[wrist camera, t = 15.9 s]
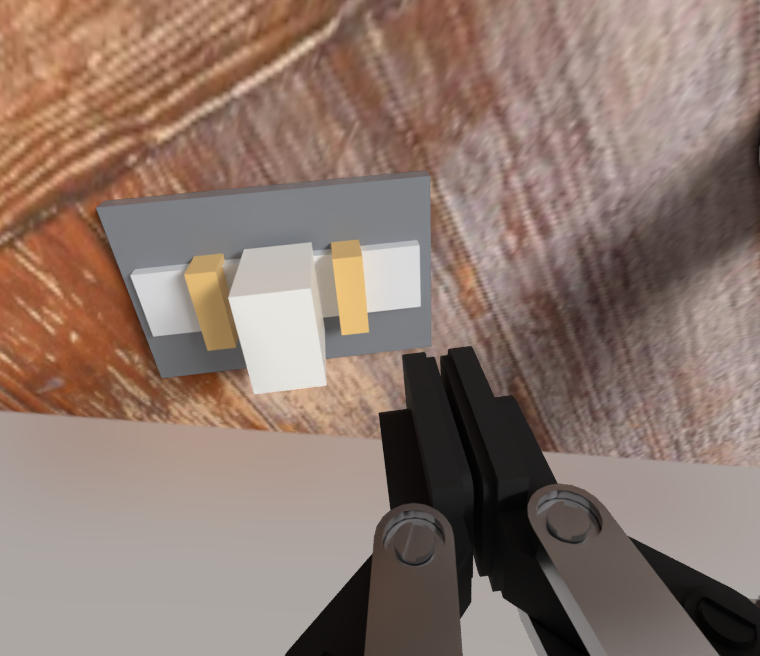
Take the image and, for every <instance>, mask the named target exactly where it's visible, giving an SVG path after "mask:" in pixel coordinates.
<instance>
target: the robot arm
mask: <svg viewBox="0 0 760 656" xmlns="http://www.w3.org/2000/svg"><path fill="white" fill-rule="evenodd" d="M759 165H760V147H759ZM402 360H403V372H404V383H405V395H406V406H407V409H403V410H396V411H388V412H380V413H379V420H380V428H381V436H382V444H383V452H384V461H385V469H386V477H387V485H388V493H389V502H390V511H389V512H388V513H387V514H386V515H384V516H383V517H382V519H381V521H380V522H379V524H378V525H377V527H376V531H375V535H374V543H373V554H372V555H371V556H370V557H369V558H368V559H367V560H366V562H365V563H364V564H363V565H362V566H361V567H360V569H359V570H358V571H357V572H356V573H355V574H354V575H353V577H352V578H351V579H350V580H349V581H348V582H347V583H346V585H345V586H344V587H343V588H342V590H341V591H339V593H338V594H337V595H336V596H335V597H334V598H333V600H332V601H331V602H330V603H329V604H328V605H327V606H326V608H325V609H324V610H323V611H322V612H321V613H320V615H319V616H318V617H317V618H316V619H315V620H314V621H313V623H312V624H311V625H310V626H309V627H308V628H307V629H306V631H305V632H304V633H303V634H302V635H301V636H300V638H299V639H298V640H297V641H296V642H295V644H293V646H292V647H291V648H290V649H289V650H288V651H287V653H286V654H285V656H463V653H462V639H461V625H460V619H461V617H462V616H463V614H464V612H465V611H466V609H467V608H468V606H469V605H470V603H471V578H472V577H473V555H474V559H475V563H476V567H477V570H478V573H479V576H480V577H482V576H488V577H489V580H490V583H491V587H492V591H493V592H494V591H501V593H502V596H503V598H504V599H506V600H507V601H509V602H510V603H512V604H513V605H515V606H516V607H518V612H519V615H520V618H521V621H522V623H523V625H524V627H525V629H526V631H527V634H528V636H529V638H530V640H531V642H532V644H533V646H534V648H535V650H536V653H537V655H538V656H760V596H759V597H758V599H748V598H747V597H745V596H743V595H742V594H740V593H738V592H737V591H735V590H734V589H732V588H730V587H728V586H726V585H724V584H722V583H720V582H718V581H716V580H714V579H712V578H710V577H708V576H706V575H704V574H702V573H700V572H698V571H696V570H694V569H693V568H690V567H689V566H687V565H685V564H683V563H681V562H679V561H676V560H675V559H673V558H670V557H669V556H667V555H665V554H663V553H661V552H659V551H657V550H655V549H653V548H651V547H649V546H647V545H645V544H643V543H641V542H639V541H637V540H635V539H633V538H631V537H629V536H627V535H626V533H625V532H624V531H623V529H622V528H621V527H620V525H619V524H618V523H617V521H616V520H615V519H614V518H613V516H612V515H611V514H610V512H609V511H608V510H607V508H606V507H605V506H604V505H603V504H602V503H601V502H600V501H599V500H598V499H597V498H596V497H595V496H594V495H592V494H590V493H589V492H587V491H586V490H584V489H581V488H578V487H576V486H573V485H565V484H558V483H557V481H556V479H555V477H554V475H553V473H552V471H551V469H550V468H549V465H548V463H547V461H546V459H545V457H544V456H543V453H542V451H541V449H540V447H539V445H538V443H537V441H536V439H535V437H534V435H533V433H532V431H531V429H530V427H529V425H528V423H527V421H526V419H525V417H524V415H523V413H522V411H521V409H520V407H519V405H518V403H517V401H516V400H515V398H514V397H513V396H512V395H510V396H503V397H494V395H493V393H492V390H491V388H490V386H489V383H488V381H487V379H486V377H485V374H484V372H483V370H482V368H481V365H480V363H479V361H478V359H477V356H476V354H475V352H474V350H473V348H472V347H471V346H467V347H459V348H452V349H448V355H444V356H441V357H440V366H441V376H440V373H439V370H438V366H437V363H436V360H435V357H428V358H427V357H426V354H425V352H420V353H413V354H405V355H402Z"/></svg>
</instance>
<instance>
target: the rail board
mask: <svg viewBox="0 0 760 656" xmlns="http://www.w3.org/2000/svg"><path fill="white" fill-rule="evenodd" d="M96 209H97V212H98V214H99V217H100V220H101V222H102V225H103V227H104V230H105V233H106V235H107V238H108V240H109V243H110V246H111V248H112V251H113V253H114V256H115V258H116V261H117V264H118V266H119V269H120V271H121V274H122V277H123V279H124V282H125V284H126V287H127V289H128V292H129V295H130V297H131V300H132V302H133V305H134V308H135V310H136V313H137V315H138V318H139V321H140V323H141V326H142V328H143V331H144V333H145V336H146V339H147V341H148V344H149V346H150V349H151V352H152V354H153V357H154V359H155V362H156V365H157V367H158V370H159V372H160V375H161V377H162V378H167V377H176V376H184V375H193V374H201V373H210V372H218V371H227V370H235V369H244V368H247V366H246V362H245V358H244V355H243V351H242V347H241V343H240V340H239V336H238V332H237V329H236V325H235V321H234V317H233V314H232V310H231V306H230V303H229V299H228V297H229V294H230V291H231V287H232V284H233V281H234V278H235V275H236V272H237V269H238V266H239V263H240V260H241V257H242V254H243V251H244V249H253V248H262V247H271V246H281V245H290V244H299V243H309V242H312V248H313V255H314V261H315V268H316V274H317V281H318V288H319V294H320V301H321V307H322V314H323V320H324V327H325V353H326V359H329V358H337V357H346V356H354V355H363V354H371V353H380V352H388V351H396V350H405V349H413V348H422V347H430V346H431V229H430V175H429V174H428V173H427V171H416V172H405V173H395V174H384V175H373V176H363V177H352V178H341V179H331V180H320V181H310V182H299V183H288V184H278V185H267V186H257V187H246V188H235V189H225V190H214V191H203V192H193V193H182V194H172V195H161V196H150V197H140V198H129V199H119V200H108V201H104V202H102V203H101V204H100V205H99V206H97V207H96Z"/></svg>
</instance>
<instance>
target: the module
mask: <svg viewBox="0 0 760 656" xmlns="http://www.w3.org/2000/svg"><path fill="white" fill-rule="evenodd" d="M228 299H229V303H230V306H231V310H232V314H233V317H234V321H235V325H236V329H237V332H238V336H239V340H240V343H241V347H242V351H243V355H244V358H245V362H246V366H247V369H248V373H249V377H250V381H251V384H252V388H253V392H254V394H261V393H269V392H277V391H285V390H293V389H301V388H309V387H317V386H325V385H326V353H325V327H324V320H323V314H322V307H321V301H320V294H319V288H318V281H317V274H316V268H315V261H314V255H313V248H312V242H309V243H299V244H290V245H281V246H271V247H262V248H253V249H244V251H243V254H242V257H241V260H240V263H239V266H238V269H237V272H236V275H235V278H234V281H233V284H232V287H231V291H230V294H229V297H228Z"/></svg>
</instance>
